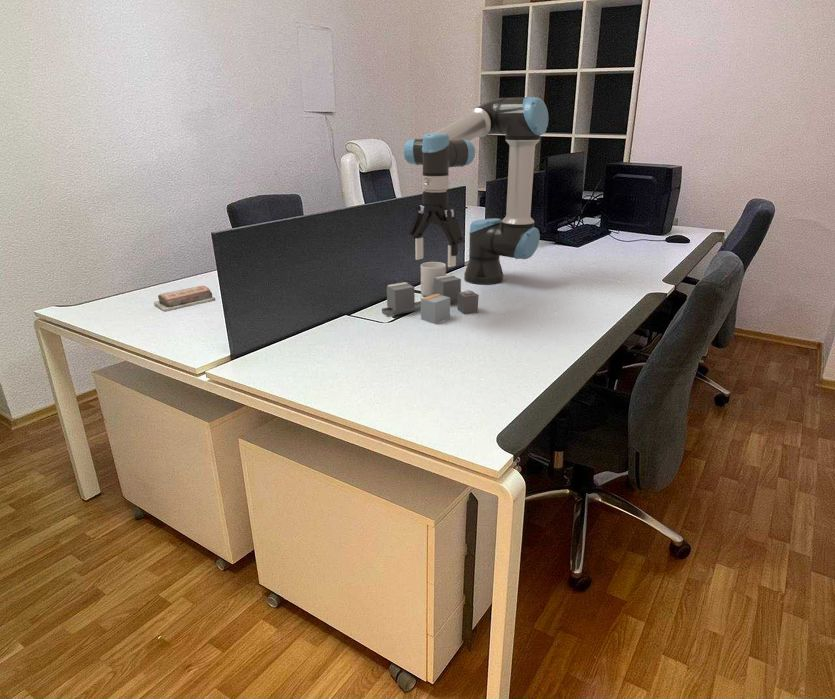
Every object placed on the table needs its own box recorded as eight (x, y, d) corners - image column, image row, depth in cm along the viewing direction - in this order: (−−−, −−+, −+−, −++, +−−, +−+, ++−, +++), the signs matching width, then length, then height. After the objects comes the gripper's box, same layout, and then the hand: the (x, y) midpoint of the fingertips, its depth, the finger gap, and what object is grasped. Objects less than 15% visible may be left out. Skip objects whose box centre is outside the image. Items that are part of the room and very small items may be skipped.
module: (436, 314, 182) (436, 293, 179) (449, 318, 178) (450, 296, 175) (421, 319, 177) (420, 297, 175) (434, 324, 173) (434, 302, 171)
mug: (448, 298, 198) (448, 267, 193) (423, 299, 196) (423, 268, 192) (440, 288, 209) (440, 259, 204) (417, 290, 207) (416, 260, 203)
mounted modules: (451, 294, 196) (451, 274, 193) (460, 298, 191) (460, 278, 188) (387, 306, 185) (386, 284, 182) (395, 311, 180) (395, 289, 177)
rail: (458, 298, 197) (458, 294, 196) (464, 301, 194) (465, 297, 193) (381, 313, 183) (381, 308, 183) (387, 316, 180) (387, 311, 180)
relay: (471, 308, 187) (471, 288, 185) (477, 312, 183) (478, 292, 180) (457, 309, 186) (458, 290, 183) (463, 314, 181) (464, 294, 179)
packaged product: (202, 282, 203) (214, 288, 197) (204, 295, 205) (216, 301, 198) (151, 293, 192) (161, 299, 185) (153, 306, 194) (164, 313, 187)
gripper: (396, 188, 168) (398, 258, 176) (459, 195, 152) (457, 272, 160) (414, 186, 173) (415, 254, 181) (477, 192, 157) (474, 267, 165)
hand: (435, 262), depth 171 cm, fingers open, 13 cm apart
